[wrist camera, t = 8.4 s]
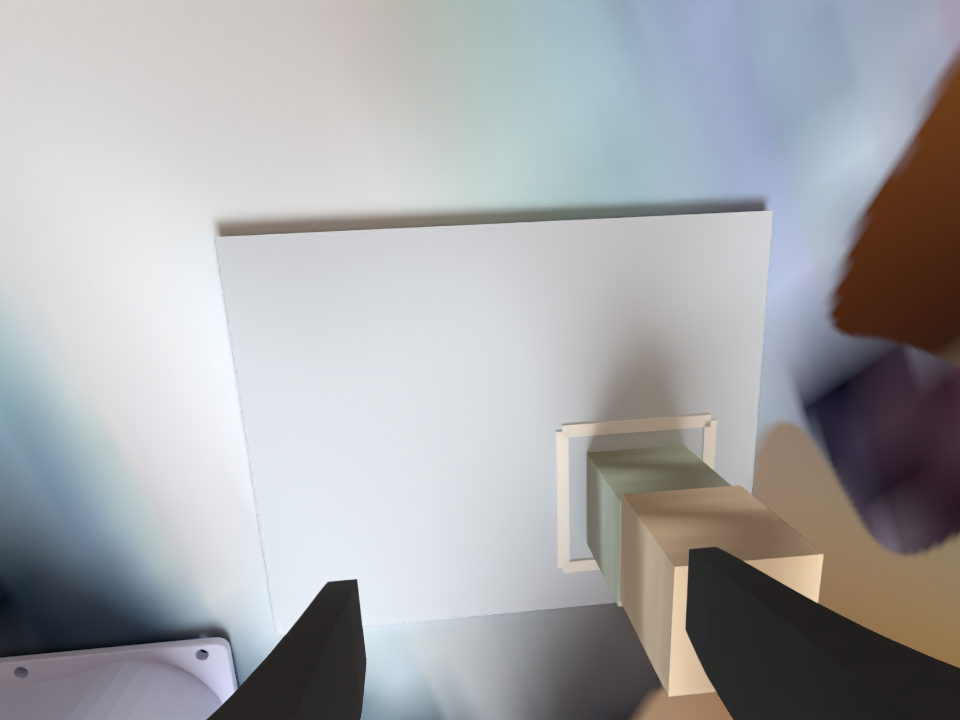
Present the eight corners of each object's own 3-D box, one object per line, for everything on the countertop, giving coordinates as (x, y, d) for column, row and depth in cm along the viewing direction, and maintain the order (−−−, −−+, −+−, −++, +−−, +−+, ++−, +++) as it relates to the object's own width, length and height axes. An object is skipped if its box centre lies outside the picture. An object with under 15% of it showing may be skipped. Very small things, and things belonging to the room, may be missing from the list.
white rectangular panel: (279, 627, 23) (275, 637, 22) (219, 236, 19) (213, 236, 19) (738, 583, 24) (746, 591, 24) (765, 210, 21) (774, 210, 20)
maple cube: (619, 600, 19) (668, 696, 15) (622, 494, 18) (674, 566, 14) (732, 590, 19) (808, 682, 15) (740, 485, 18) (824, 554, 14)
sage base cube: (586, 542, 23) (618, 606, 19) (586, 452, 22) (619, 500, 18) (680, 534, 23) (730, 595, 19) (684, 444, 22) (737, 490, 18)
